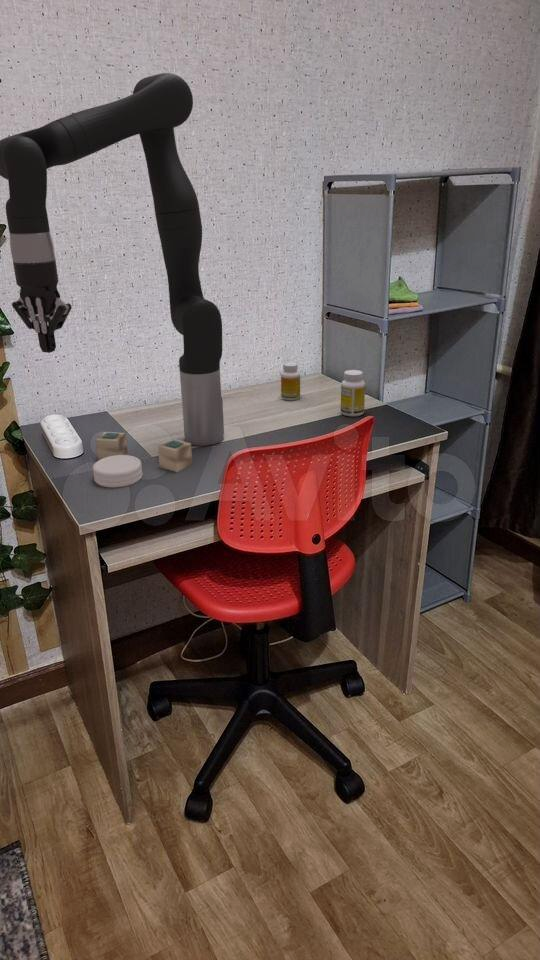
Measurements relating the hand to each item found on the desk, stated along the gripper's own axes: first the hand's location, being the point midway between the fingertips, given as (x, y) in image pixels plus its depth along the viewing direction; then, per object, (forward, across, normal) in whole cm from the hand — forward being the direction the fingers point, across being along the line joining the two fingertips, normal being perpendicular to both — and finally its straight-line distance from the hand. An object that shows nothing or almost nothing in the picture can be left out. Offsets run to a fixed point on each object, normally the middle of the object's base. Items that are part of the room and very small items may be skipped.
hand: (48, 351), depth 131 cm
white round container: (+28, -10, -4) cm, 30 cm away
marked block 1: (+27, -2, -13) cm, 30 cm away
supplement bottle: (+27, -23, -67) cm, 76 cm away
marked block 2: (+27, -18, -14) cm, 35 cm away
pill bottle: (+27, -43, -61) cm, 79 cm away
